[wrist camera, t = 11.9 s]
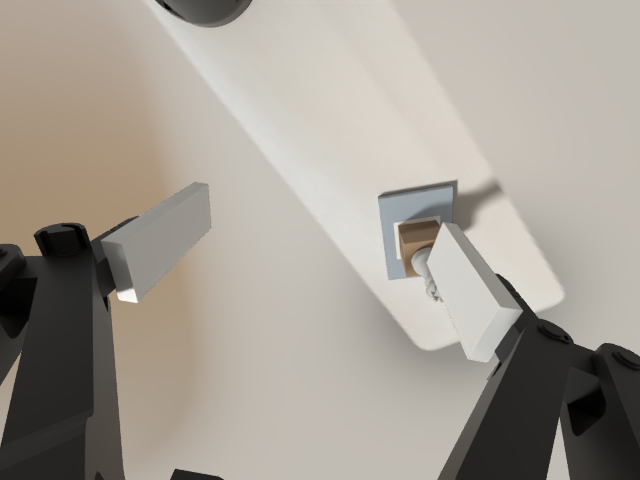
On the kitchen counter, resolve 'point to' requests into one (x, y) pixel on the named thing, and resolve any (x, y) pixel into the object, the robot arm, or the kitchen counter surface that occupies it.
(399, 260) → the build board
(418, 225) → the walnut cube
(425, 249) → the rook chess piece
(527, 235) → the kitchen counter surface
